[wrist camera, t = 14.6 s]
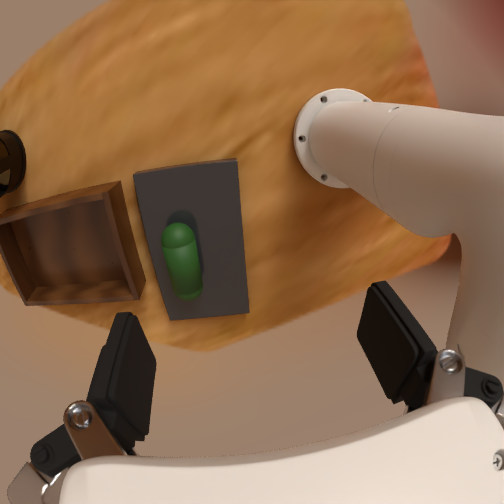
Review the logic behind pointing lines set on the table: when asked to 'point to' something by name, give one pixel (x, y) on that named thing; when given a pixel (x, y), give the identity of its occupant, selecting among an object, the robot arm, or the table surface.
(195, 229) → the board
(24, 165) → the french press
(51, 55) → the table surface
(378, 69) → the table surface
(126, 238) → the brown wooden tray
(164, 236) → the cucumber
